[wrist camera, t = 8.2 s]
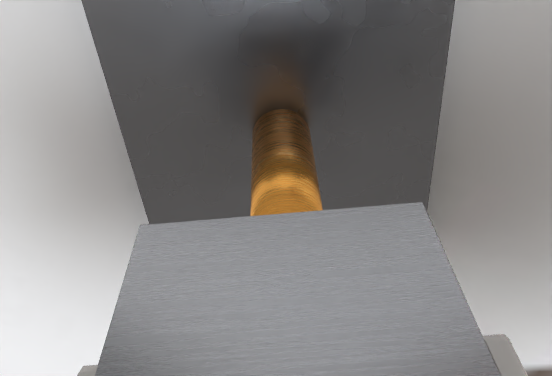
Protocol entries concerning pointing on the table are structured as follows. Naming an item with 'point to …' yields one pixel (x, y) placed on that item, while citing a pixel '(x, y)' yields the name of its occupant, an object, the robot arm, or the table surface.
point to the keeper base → (274, 101)
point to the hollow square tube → (294, 299)
